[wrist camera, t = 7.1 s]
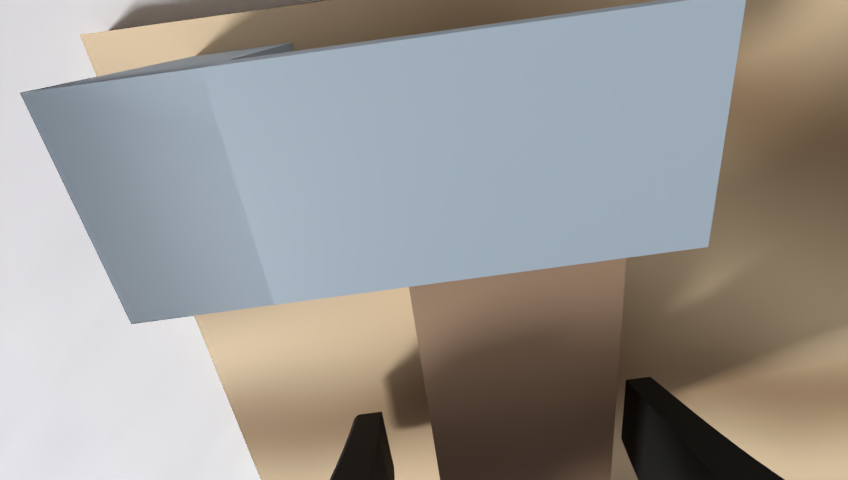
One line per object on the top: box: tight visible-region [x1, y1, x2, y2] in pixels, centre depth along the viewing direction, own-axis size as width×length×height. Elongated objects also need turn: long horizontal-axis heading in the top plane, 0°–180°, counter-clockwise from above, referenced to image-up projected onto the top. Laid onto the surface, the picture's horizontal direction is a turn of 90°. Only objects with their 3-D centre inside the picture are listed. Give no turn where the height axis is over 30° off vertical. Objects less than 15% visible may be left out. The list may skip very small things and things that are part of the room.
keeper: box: [20, 0, 746, 324], centre depth 7 cm, size 3×7×4 cm, turn 97°
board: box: [80, 0, 848, 480], centre depth 13 cm, size 21×23×1 cm
